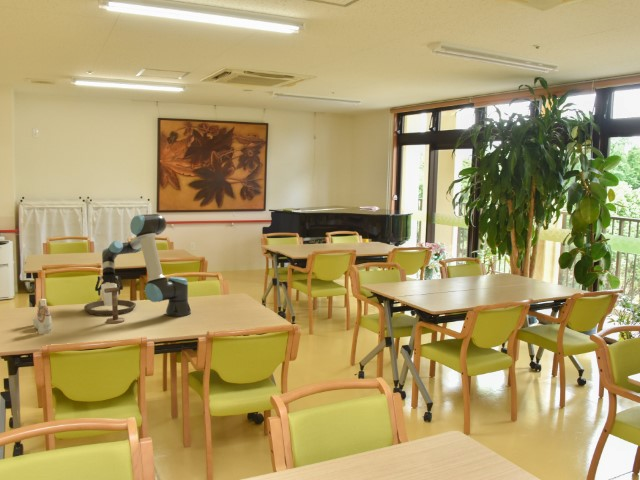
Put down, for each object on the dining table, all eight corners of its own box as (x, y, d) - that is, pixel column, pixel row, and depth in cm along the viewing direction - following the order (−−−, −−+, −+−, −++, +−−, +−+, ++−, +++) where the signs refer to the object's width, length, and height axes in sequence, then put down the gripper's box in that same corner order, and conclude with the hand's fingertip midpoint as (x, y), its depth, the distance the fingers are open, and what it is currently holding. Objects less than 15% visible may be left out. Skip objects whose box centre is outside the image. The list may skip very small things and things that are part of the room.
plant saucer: (128, 303, 396) (128, 297, 396) (142, 313, 371) (141, 306, 370) (79, 309, 379) (79, 302, 379) (90, 320, 354) (90, 313, 353)
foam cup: (102, 306, 368) (102, 286, 366) (100, 303, 376) (99, 283, 374) (118, 305, 373) (118, 285, 371) (116, 302, 381) (115, 282, 379)
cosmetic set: (31, 324, 339) (29, 292, 337) (48, 322, 344) (47, 290, 342) (36, 335, 318) (34, 301, 316) (54, 333, 323) (53, 299, 321)
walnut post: (126, 321, 347) (126, 288, 345) (109, 324, 341) (108, 290, 338) (120, 318, 355) (119, 285, 352) (103, 320, 348) (102, 287, 346)
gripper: (126, 272, 390) (127, 301, 377) (90, 273, 382) (90, 303, 370) (126, 265, 384) (127, 294, 372) (90, 267, 377) (90, 296, 364)
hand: (109, 298), depth 371 cm, fingers closed on foam cup, 9 cm apart
